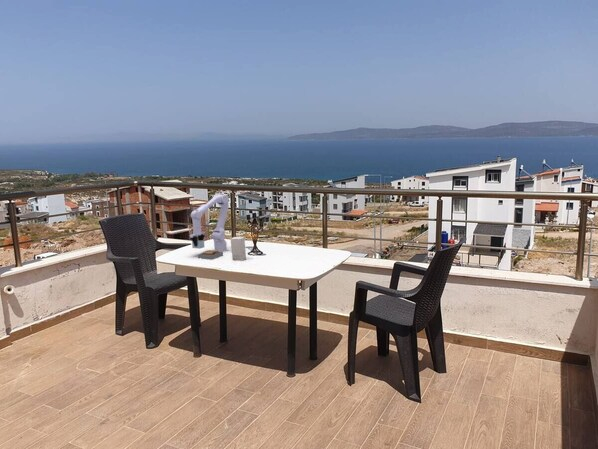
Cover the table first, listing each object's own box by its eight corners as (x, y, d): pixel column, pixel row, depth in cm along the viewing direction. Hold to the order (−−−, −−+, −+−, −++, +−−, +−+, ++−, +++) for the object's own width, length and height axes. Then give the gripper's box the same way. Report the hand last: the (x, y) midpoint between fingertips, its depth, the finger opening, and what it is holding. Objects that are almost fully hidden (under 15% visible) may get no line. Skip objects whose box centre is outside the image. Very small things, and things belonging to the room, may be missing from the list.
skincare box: (246, 258, 308) (245, 236, 306) (242, 260, 302) (241, 238, 299) (235, 257, 310) (234, 236, 308) (231, 260, 304) (230, 238, 302)
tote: (209, 255, 321) (209, 250, 321) (223, 256, 315) (222, 252, 315) (198, 259, 310) (197, 254, 310) (212, 260, 304) (211, 255, 304)
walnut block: (209, 255, 318) (209, 249, 317) (218, 256, 314) (218, 250, 314) (202, 257, 311) (202, 252, 310) (211, 258, 307) (211, 253, 307)
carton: (197, 246, 320) (196, 239, 320) (204, 247, 317) (204, 240, 316) (192, 247, 316) (192, 241, 315) (199, 248, 313) (199, 241, 312)
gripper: (199, 225, 322) (200, 243, 325) (185, 228, 310) (187, 247, 312) (206, 225, 319) (208, 243, 321) (193, 229, 306) (194, 247, 309)
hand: (198, 245), depth 316 cm, fingers closed on carton, 5 cm apart
